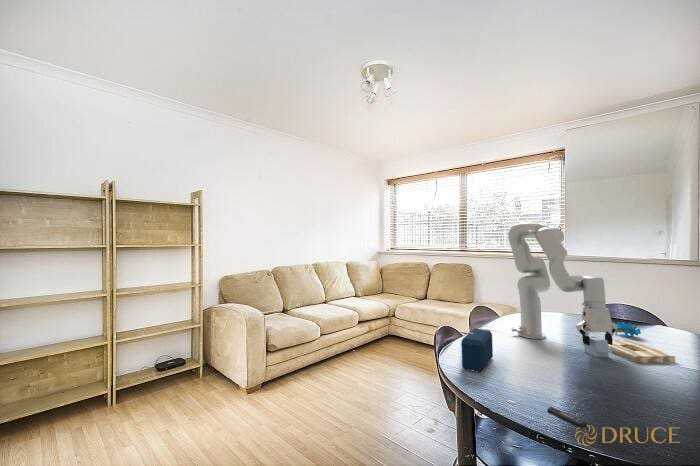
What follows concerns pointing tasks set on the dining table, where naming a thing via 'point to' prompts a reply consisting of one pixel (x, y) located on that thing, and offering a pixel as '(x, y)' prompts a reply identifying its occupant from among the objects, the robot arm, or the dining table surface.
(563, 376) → the dining table surface
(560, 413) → the dark grey bar
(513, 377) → the dining table surface
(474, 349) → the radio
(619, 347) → the frame
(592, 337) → the block
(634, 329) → the blue toy dinosaur
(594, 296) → the robot arm
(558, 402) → the dining table surface
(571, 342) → the dining table surface
